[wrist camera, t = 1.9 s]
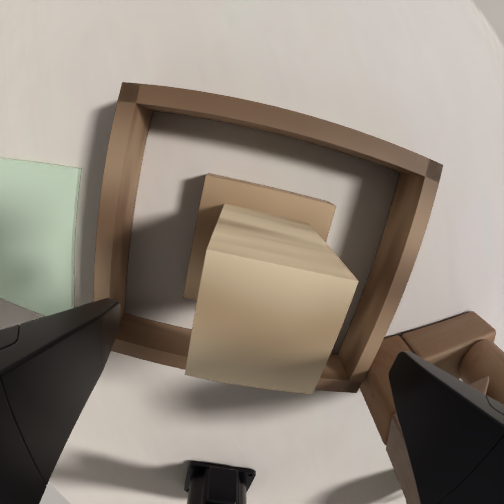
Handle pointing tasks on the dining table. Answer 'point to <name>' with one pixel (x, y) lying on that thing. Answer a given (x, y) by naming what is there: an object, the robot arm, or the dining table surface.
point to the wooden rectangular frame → (264, 200)
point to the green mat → (38, 234)
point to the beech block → (267, 303)
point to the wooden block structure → (444, 357)
